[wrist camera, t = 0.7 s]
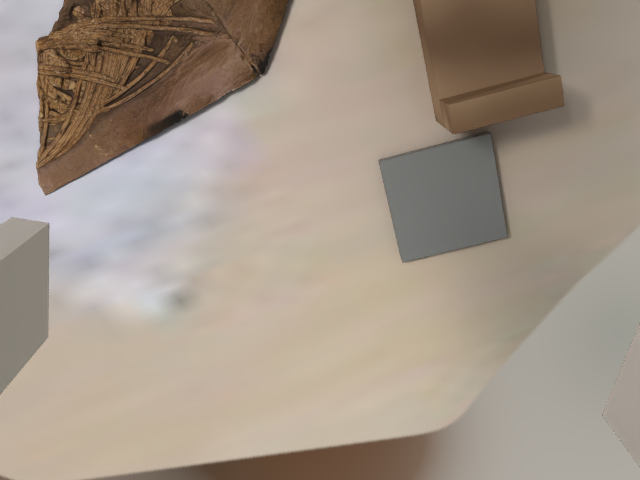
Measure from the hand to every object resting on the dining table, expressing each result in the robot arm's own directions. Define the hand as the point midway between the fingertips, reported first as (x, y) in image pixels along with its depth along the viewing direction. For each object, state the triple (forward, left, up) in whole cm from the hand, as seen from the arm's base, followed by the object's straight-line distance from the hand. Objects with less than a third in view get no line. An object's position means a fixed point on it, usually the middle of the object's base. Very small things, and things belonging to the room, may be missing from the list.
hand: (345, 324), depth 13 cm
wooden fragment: (-8, -8, -26) cm, 28 cm away
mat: (+6, +6, -25) cm, 26 cm away
